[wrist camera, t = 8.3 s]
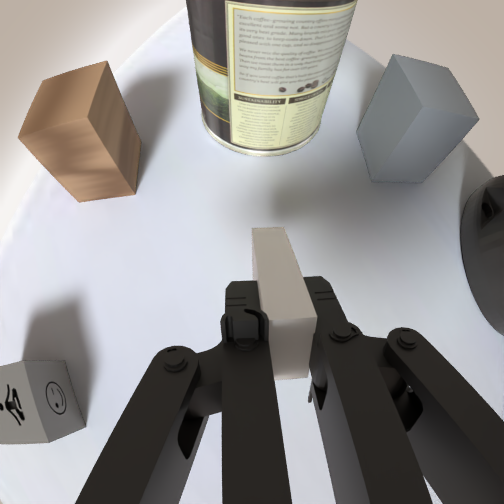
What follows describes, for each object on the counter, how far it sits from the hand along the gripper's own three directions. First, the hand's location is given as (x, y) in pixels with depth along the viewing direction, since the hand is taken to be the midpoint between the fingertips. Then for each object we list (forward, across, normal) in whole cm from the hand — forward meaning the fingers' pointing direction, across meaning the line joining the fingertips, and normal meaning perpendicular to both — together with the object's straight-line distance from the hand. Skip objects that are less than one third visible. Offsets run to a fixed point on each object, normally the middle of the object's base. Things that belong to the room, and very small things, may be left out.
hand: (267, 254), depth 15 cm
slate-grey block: (+11, +12, +3) cm, 16 cm away
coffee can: (+14, +1, +6) cm, 15 cm away
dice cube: (-2, -16, -10) cm, 19 cm away
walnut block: (+10, -12, +3) cm, 16 cm away
